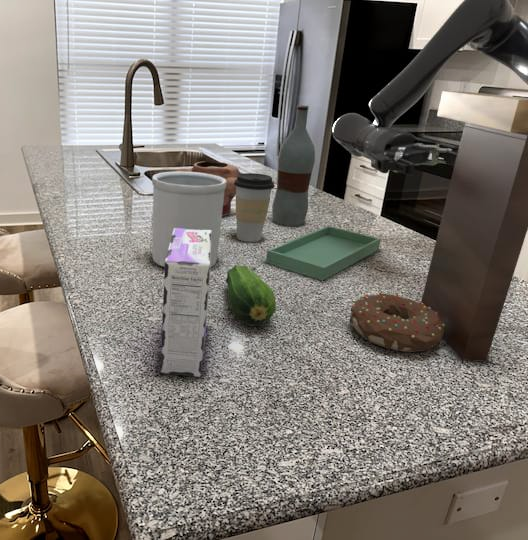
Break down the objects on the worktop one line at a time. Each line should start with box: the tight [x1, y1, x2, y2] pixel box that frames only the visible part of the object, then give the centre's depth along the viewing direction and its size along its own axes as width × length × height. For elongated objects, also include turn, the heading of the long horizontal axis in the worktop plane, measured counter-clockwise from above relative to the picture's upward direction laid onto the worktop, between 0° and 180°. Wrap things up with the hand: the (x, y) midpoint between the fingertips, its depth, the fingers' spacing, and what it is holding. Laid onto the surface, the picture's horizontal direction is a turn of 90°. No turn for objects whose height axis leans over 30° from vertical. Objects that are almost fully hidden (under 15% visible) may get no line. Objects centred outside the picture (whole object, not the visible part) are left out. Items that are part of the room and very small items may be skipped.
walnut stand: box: [420, 122, 528, 362], centre depth 76 cm, size 4×16×32 cm, turn 177°
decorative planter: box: [177, 160, 241, 217], centre depth 141 cm, size 20×12×14 cm, turn 91°
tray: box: [265, 225, 382, 282], centre depth 114 cm, size 27×13×3 cm, turn 137°
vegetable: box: [225, 264, 277, 327], centre depth 88 cm, size 7×7×20 cm
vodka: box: [271, 104, 316, 227], centre depth 133 cm, size 9×9×30 cm
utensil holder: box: [151, 170, 227, 268], centre depth 106 cm, size 15×15×18 cm
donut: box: [349, 292, 445, 353], centre depth 80 cm, size 14×14×5 cm
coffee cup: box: [234, 172, 276, 243], centre depth 121 cm, size 9×9×15 cm
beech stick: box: [436, 90, 528, 133], centre depth 75 cm, size 4×22×4 cm, turn 177°
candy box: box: [159, 228, 212, 378], centre depth 71 cm, size 14×6×16 cm, turn 174°
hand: (436, 165), depth 88 cm, fingers open, 8 cm apart
